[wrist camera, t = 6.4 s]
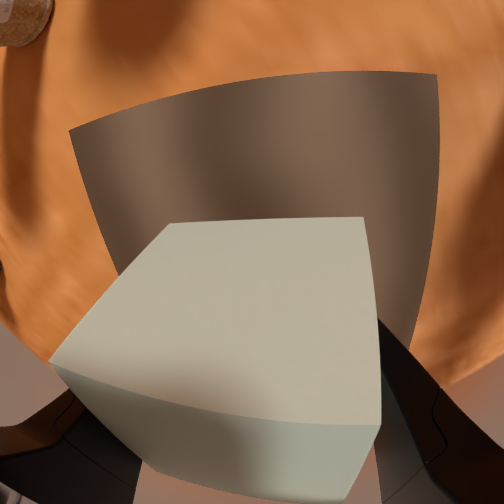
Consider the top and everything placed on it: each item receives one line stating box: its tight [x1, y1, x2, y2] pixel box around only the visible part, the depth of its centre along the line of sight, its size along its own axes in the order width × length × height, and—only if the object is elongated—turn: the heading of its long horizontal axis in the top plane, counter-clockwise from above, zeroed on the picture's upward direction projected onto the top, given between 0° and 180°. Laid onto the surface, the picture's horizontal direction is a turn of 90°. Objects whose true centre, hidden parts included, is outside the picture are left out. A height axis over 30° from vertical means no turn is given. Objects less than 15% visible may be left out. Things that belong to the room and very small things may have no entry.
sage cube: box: [48, 217, 381, 504], centre depth 8 cm, size 6×6×6 cm
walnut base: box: [69, 71, 440, 350], centre depth 14 cm, size 14×14×4 cm
